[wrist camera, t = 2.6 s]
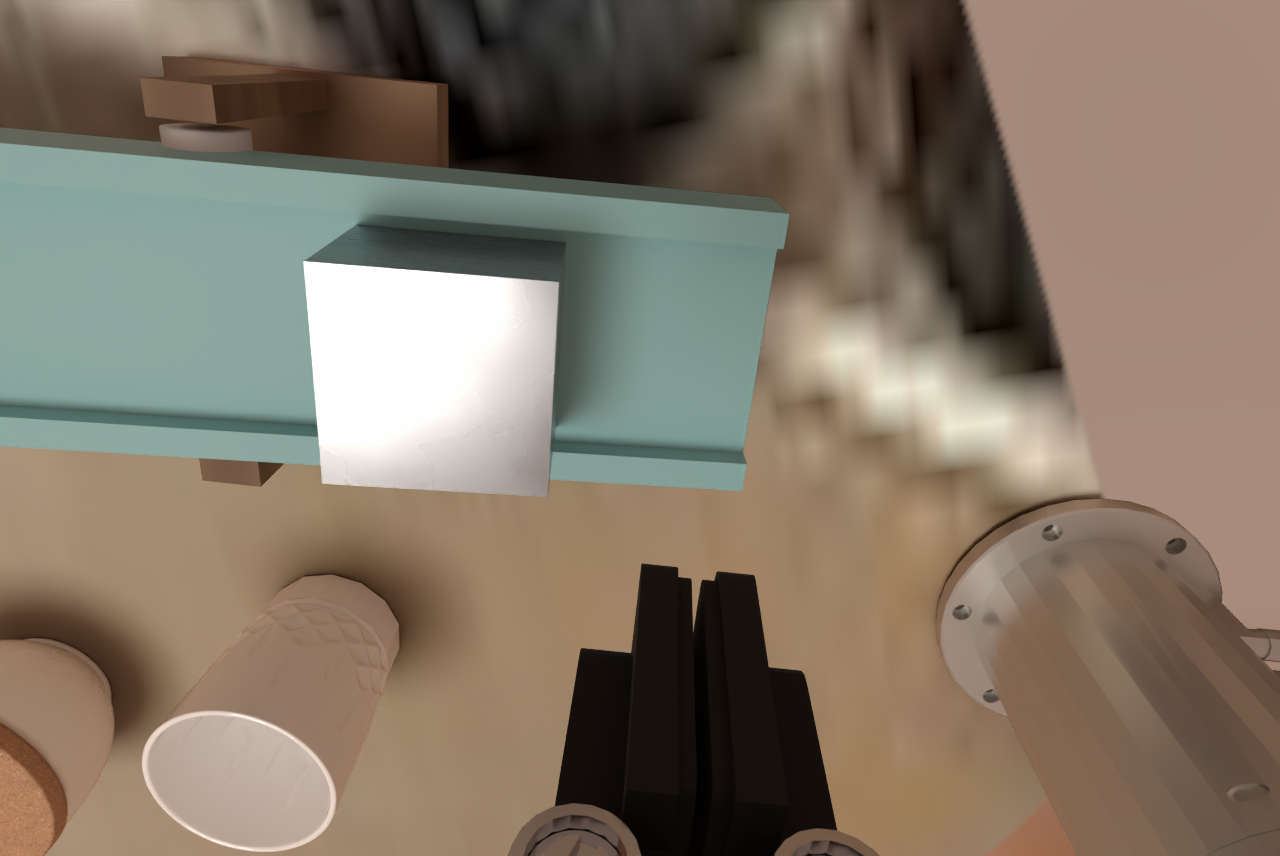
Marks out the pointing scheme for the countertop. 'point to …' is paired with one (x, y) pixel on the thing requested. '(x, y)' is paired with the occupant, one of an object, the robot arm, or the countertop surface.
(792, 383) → the countertop surface
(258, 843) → the white cup
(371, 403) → the block
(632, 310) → the beam
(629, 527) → the countertop surface
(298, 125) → the stand
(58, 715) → the lidded jar
